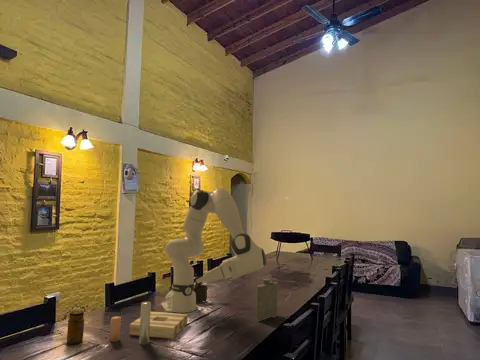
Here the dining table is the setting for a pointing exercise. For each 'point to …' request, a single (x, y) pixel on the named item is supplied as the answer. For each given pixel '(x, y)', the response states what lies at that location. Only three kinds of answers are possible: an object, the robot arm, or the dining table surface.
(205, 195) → the robot arm
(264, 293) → the hip flask
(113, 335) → the short terracotta pin
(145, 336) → the tall metal pin
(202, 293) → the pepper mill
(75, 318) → the condiment
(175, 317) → the hole block
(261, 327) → the dining table surface
